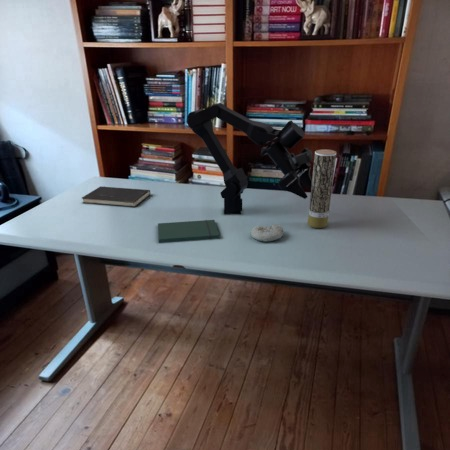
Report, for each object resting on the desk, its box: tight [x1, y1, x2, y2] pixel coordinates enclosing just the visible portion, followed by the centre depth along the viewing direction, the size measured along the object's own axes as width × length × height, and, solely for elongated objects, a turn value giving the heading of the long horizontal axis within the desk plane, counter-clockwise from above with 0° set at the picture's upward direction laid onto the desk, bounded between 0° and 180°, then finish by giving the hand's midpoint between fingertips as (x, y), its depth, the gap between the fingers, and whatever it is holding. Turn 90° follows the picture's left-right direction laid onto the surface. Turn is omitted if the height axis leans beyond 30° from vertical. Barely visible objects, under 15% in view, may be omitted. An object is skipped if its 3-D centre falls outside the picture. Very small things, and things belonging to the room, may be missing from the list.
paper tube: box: [307, 149, 337, 229], centre depth 140 cm, size 7×7×25 cm
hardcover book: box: [81, 186, 151, 208], centre depth 173 cm, size 16×23×2 cm
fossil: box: [250, 224, 284, 242], centre depth 138 cm, size 11×4×10 cm
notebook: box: [157, 219, 221, 243], centre depth 143 cm, size 20×14×1 cm
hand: (310, 194), depth 142 cm, fingers open, 9 cm apart
